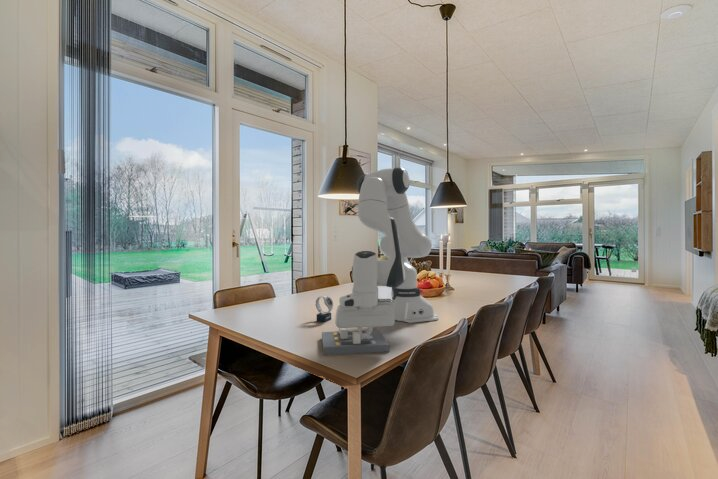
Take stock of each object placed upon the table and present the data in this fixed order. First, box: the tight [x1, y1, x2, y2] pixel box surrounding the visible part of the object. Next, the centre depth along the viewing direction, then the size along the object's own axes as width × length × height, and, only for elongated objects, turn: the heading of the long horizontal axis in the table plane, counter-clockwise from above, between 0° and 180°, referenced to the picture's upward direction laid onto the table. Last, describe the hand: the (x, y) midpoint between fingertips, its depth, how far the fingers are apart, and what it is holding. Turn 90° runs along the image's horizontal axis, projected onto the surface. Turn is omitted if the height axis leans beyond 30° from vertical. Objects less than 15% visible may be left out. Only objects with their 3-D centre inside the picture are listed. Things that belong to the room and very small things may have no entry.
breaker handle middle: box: [340, 328, 349, 339], centre depth 126 cm, size 2×3×3 cm
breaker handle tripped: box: [353, 332, 361, 344], centre depth 122 cm, size 2×3×3 cm
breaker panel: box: [321, 329, 390, 356], centre depth 127 cm, size 22×17×3 cm
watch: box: [315, 295, 334, 324], centre depth 159 cm, size 6×8×11 cm
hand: (365, 339), depth 122 cm, fingers closed
